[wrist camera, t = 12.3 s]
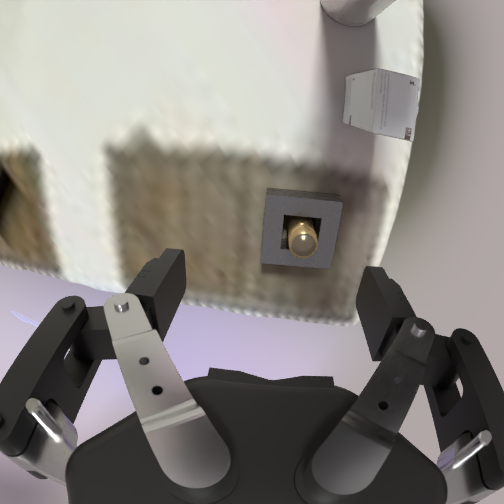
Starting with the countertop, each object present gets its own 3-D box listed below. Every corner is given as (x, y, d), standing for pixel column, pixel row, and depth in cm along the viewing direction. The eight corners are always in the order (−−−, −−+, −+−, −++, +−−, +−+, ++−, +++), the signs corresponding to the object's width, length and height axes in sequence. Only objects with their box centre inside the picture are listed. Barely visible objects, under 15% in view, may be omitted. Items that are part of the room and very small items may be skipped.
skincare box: (344, 76, 37) (374, 63, 24) (380, 83, 37) (421, 75, 24) (341, 125, 41) (369, 133, 28) (376, 131, 41) (416, 142, 28)
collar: (267, 187, 47) (266, 194, 44) (338, 195, 47) (343, 202, 43) (262, 252, 53) (260, 263, 49) (327, 257, 52) (330, 269, 49)
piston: (288, 211, 49) (290, 230, 42) (314, 213, 49) (320, 233, 41) (285, 234, 51) (287, 257, 44) (310, 236, 51) (316, 259, 43)
